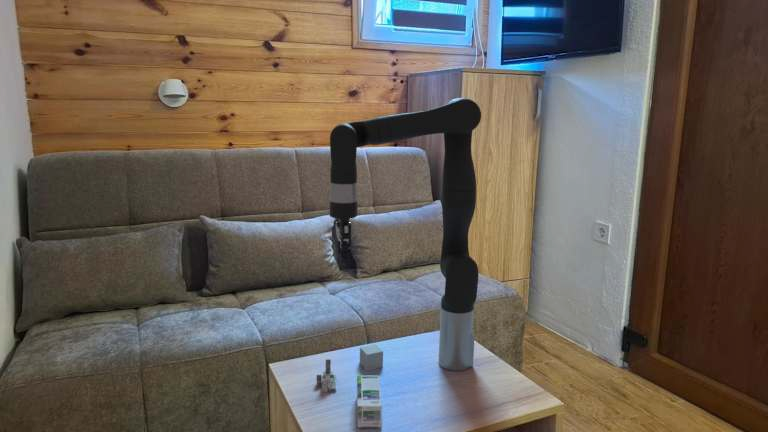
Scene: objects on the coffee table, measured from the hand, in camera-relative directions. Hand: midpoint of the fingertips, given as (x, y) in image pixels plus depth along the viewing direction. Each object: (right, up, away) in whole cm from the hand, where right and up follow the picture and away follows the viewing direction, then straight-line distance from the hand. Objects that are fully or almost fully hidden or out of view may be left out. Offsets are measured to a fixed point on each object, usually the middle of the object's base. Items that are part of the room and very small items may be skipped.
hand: (343, 257), depth 147 cm
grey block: (+7, -32, +7) cm, 33 cm away
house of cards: (-6, -34, -4) cm, 35 cm away
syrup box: (+7, -32, -10) cm, 34 cm away
